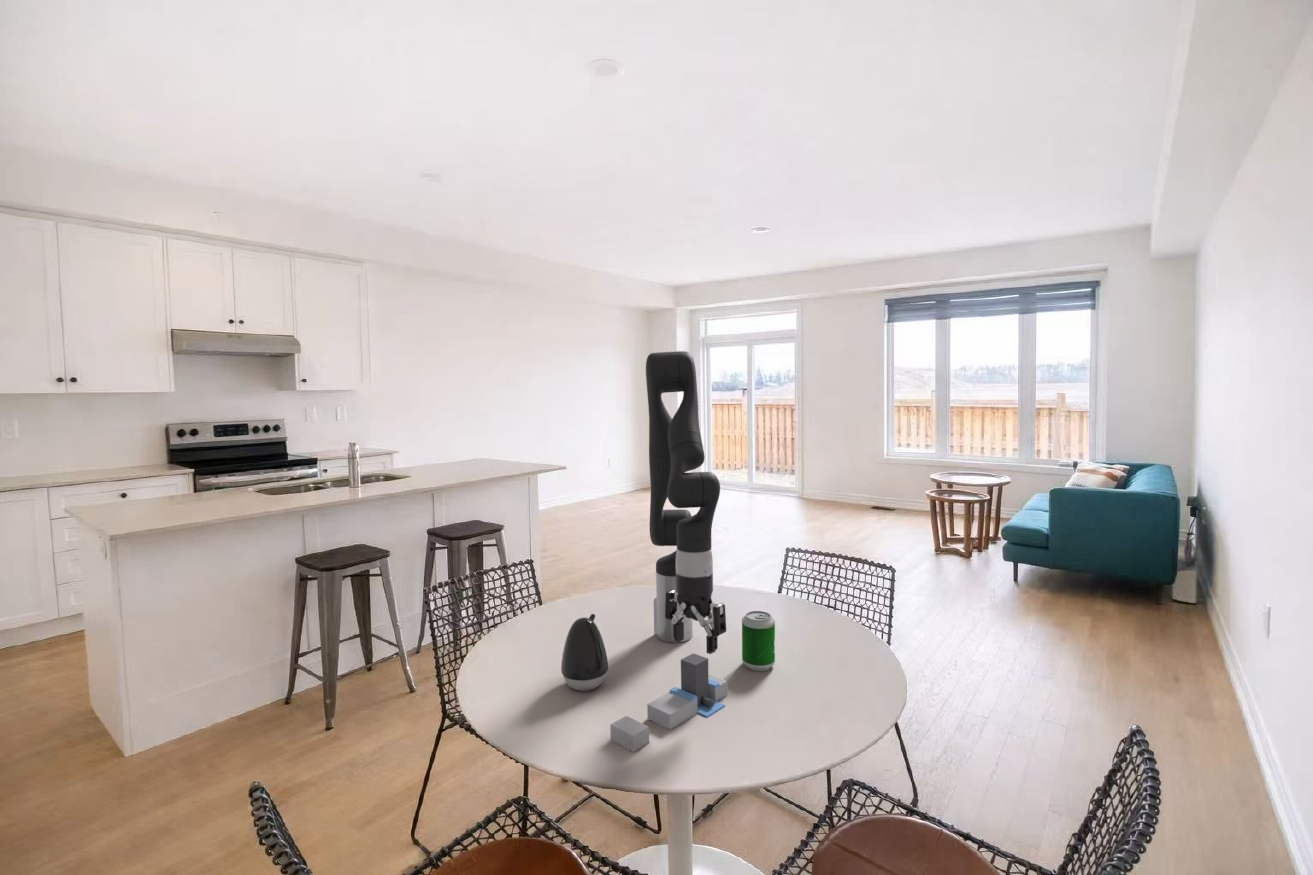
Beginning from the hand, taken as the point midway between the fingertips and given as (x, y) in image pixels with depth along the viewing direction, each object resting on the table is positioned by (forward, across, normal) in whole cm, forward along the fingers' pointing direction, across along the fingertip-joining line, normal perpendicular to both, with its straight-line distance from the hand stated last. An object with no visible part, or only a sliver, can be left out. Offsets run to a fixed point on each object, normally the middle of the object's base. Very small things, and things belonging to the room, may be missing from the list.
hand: (695, 646), depth 133 cm
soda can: (+12, 0, +23) cm, 26 cm away
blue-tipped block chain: (+12, 0, -7) cm, 14 cm away
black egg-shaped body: (+12, -23, -10) cm, 28 cm away
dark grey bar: (+12, +1, 0) cm, 12 cm away
